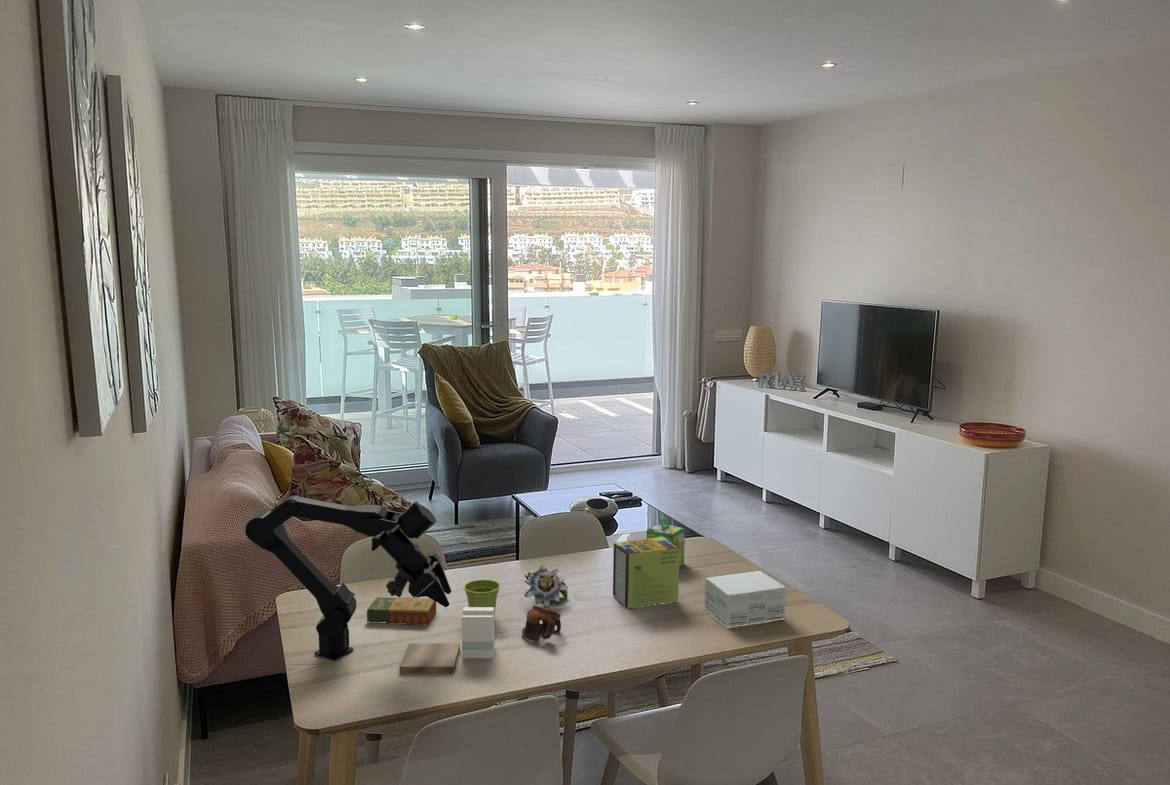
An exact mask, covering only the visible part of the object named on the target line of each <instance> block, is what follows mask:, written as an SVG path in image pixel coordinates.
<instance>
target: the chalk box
mask: <svg viewBox="0 0 1170 785" xmlns="http://www.w3.org/2000/svg"><path fill="white" fill-rule="evenodd" d="M659 520H660V523H658V524H655V525H653V526H652V527H649V528H648V529H646V539H648V538H656V537H664V538H665V539H667V540H668V541H670V542H672V543H673V544H675V545H676V546H678V547H679V548H680V552H679V567H681V566H682V565H684V564H685V543H686V540H685V539H686V538H685V537H686V528H685V527H680V526H676V525H673V524H669V520H668V516H667V515H666V516H663V517H662V518H661V519H659ZM664 522H665V524H664ZM683 563H684V564H683ZM681 564H682V565H681ZM680 565H681V566H680Z"/></svg>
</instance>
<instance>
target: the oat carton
mask: <svg viewBox="0 0 1170 785" xmlns="http://www.w3.org/2000/svg"><path fill="white" fill-rule="evenodd" d="M495 624H496V623H495V615H494V607H469V606H465V607H464V606H463V609H462V617H461V637H462V638H461V640H462V641H461V652H462V659H494V653H495V645H496V644H495V643H496V642H495V641H496V638H495V637H496V634H495V633H496V632H495V630H496V629H495Z"/></svg>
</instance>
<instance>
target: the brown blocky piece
mask: <svg viewBox="0 0 1170 785" xmlns="http://www.w3.org/2000/svg"><path fill="white" fill-rule="evenodd" d="M561 617H562V614H560V613H559V612H557V611H555V610H552V609H549V608H547V607H546V608H545V607H544V606H543V607H542V606H539V605H533V606H532V609H531V610H529V611H528V612H527V614H526V617H525V618H526V621H525V627H522V630H521V637H522V638H525V639H526V640H529V641H532V642H535V643H539V642H540V639H541V638H542V639H544V640H549V639H551V638H552V634H553V633H554V631H555V627H556V632H557V633H558V632H559V633H560V632H561V630H562V621H561ZM540 622H541V623H540Z"/></svg>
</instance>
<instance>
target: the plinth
mask: <svg viewBox="0 0 1170 785" xmlns="http://www.w3.org/2000/svg"><path fill="white" fill-rule="evenodd" d="M460 651H461V643H460V642H459V643H456V642H455V643H451V642H450V643H447V642H446V643H445V642H443V643H441V642H440V643H435V642H431V643H429V642H428V643H427V642H426V643H425V642H424V643H421V642H417V643H416V642H415V643H414V642H412V643H410V642H408V644H407V647H406V650H405V652H404V654H403V656H402V659H401V662H400V664H399V674H454V673H455V671H456V670H455V669H456V666H457V662H458V658H459V655H460Z"/></svg>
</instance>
